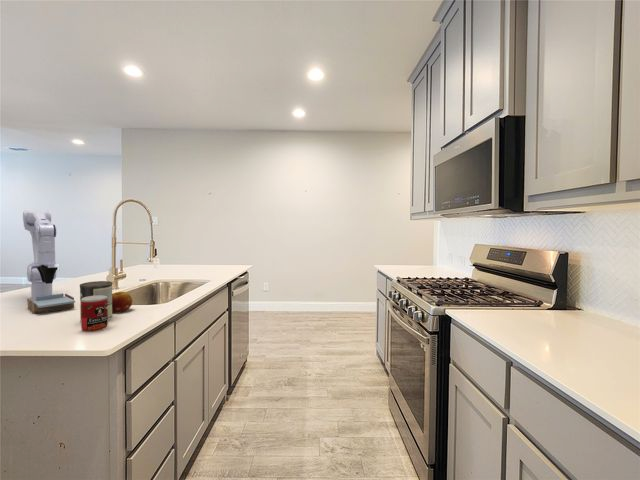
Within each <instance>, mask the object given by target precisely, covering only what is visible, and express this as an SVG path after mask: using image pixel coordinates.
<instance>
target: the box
mask: <svg viewBox="0 0 640 480" xmlns="http://www.w3.org/2000/svg"><path fill="white" fill-rule="evenodd" d="M66 296H67V297H69V298H70V299H72V300H74V301H75V298H74V297H73V296H72V295H69V294H68V293H65V294H64V297H66ZM29 298H30V297H29ZM29 298H27V309H28V310H29V311H30V312H31V313H33V314H34V315H36V314H37V315H38V314H43V313H48V312H49V313H50V312H56V311H60V310H68V309H73V308H74V309H75V303H70V304H63V305H56V306H50V307H43V308H38V307H37V306H35V303H34V302H33V301H31V300H30V299H29Z"/></svg>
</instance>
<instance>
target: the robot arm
mask: <svg viewBox="0 0 640 480" xmlns="http://www.w3.org/2000/svg"><path fill="white" fill-rule="evenodd" d="M22 221H23V227H24V230H26V231H28V232H29V233H30V234H29V235H31V243H32V251H33V260H34V261H33V262H32V261H31V263H29V264H28V266H27V267H26V275H27V276H26V277H27V281H28V282H29V283H31V286H30V291H31V293H30V294H31V297H29V299H30V300H31V301H36V297H39V296H47V295H53V281H54V280H56V279H57V271H58V268H59V267H57V266H56V263H57V261H56V238H57V226H56V224H52V213H51V212H50V210H49V211H48V210H47V211H42V210H41V211H40V210H39V211H37V210H24V211H22Z"/></svg>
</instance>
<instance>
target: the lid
mask: <svg viewBox="0 0 640 480" xmlns="http://www.w3.org/2000/svg"><path fill="white" fill-rule="evenodd" d="M33 302H34V303H35V306H37V307H38V308H43V307H50V306H56V305H63V304H70V303H74V304H75V303H76V300H75V299H74V300H72V299H70V298H69V297H67V296H66V297H65V294H64V293H56V294H52V295H47V296H39V297H36V301H33Z"/></svg>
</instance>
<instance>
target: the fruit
mask: <svg viewBox="0 0 640 480" xmlns="http://www.w3.org/2000/svg"><path fill="white" fill-rule="evenodd" d="M132 305H133V297H132V295H131V294H130V293H129V292H128V291H127V292H126V291H117V292H112V313H123V311H124V312H126V311H128V310H129V309H130V308H131V307H132Z"/></svg>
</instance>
